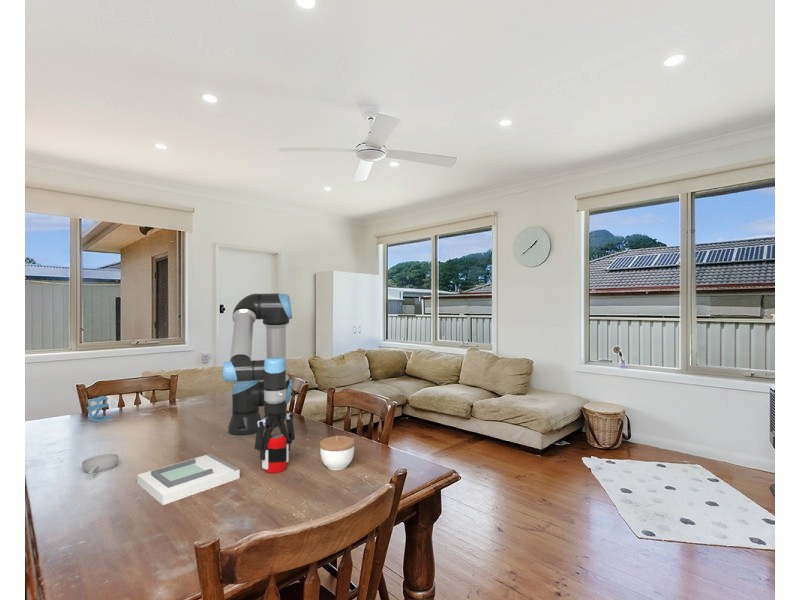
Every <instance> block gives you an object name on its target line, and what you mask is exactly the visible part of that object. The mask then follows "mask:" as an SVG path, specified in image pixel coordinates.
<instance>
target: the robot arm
mask: <svg viewBox="0 0 800 600" xmlns="http://www.w3.org/2000/svg"><path fill="white" fill-rule="evenodd" d="M256 320H262V325H264V326H265V327H266V331H265V333H266V335H265V336H266V338H265V339H266V341H265V342H266V358H265V359H261V360H260V359H257V360H254V359H253V360H252V354H253V353H252V351H253V349H252V347H253V336H254V335H253V333H254V324H255V322H256ZM290 320H293V313H292V304H291V298H290V295H288V294H287V293H280V292H279V293H252V294H249V295H246V296H245V297H243V298H242V299H241V300H240V301H238V303H237V304H236V305H235V306H234V309H233V312H232V322H233V331H232V340H231V350H230V358H229V361H225V362H223V364H222V380H223V381H224V382H226V383H227V382H228V383H233V384H232V387H231V388H232V391H231V395H232V396H231V398H232V400H231V402H232V406H231V409H232V411H231V412H232V414H231V417H230V421H229V423H228V428H227V429H228V434H230V435H235V436H245V435H251V434H255V440H254V441H255V443H254V450H257V451H258V452H259V458H260V460H261V467H262V469H266V470H267V469H268V450H266V448H267V445H268V442H269V439H270V436H271V434H273V433H272V432H274V430H275V428H278V429H279V433H281V434H283V435H284V436H285V437H286V463H289V452H291V444H292V442H293V441H295V440H296V437H295V435H296V434H295V429H294V422H293V420H294V414H293V413H291V412H288V413H287V412H286V411H287V404H289V403H290V401H291V396H292V391H293V390H292V389H293V381H292V379H290V376H289V375H288V374H287V360H286V359H287V357H286V356H287V355H286V353H287V350H286V348H287V345H286V344H287V341H286V340H287V331H286V330H287V328H286V327H287V326H288V325H289V323H290ZM260 407H263V409H264V411H263V412H264V417H263V419H262V417H261V414H260V409H259V408H260ZM285 422H286V424H285Z"/></svg>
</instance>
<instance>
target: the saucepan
mask: <svg viewBox="0 0 800 600" xmlns="http://www.w3.org/2000/svg"><path fill="white" fill-rule="evenodd" d="M119 458H120V456H119V454H117V453H106V454H98V455H95V456H90V457H89V458H87V459H84V460H83V461H82V462H81V467H82V470H83V471H84V472H85V473H86V474H89V473H96V474H100V473H99V472H102V473H104V472H103V471H106V472H108V471H107V470H109V471H110V469H111V470H113V469H115V467H116V466H117V465H118V462H119ZM112 468H113V469H112Z"/></svg>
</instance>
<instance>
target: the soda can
mask: <svg viewBox="0 0 800 600" xmlns="http://www.w3.org/2000/svg"><path fill="white" fill-rule="evenodd" d="M266 450H268V469H267V470H266V469H264V468H263V469H264V471H265V472H266V473H268V474H279V473H282V472H284V471H285V470H286V469H287V462H286V437H285V436H284V435H283V434H281V432H278V433H277V432H275V433H271V436H270V439H269V442H268V445H267V448H266Z"/></svg>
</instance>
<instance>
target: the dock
mask: <svg viewBox="0 0 800 600" xmlns="http://www.w3.org/2000/svg"><path fill="white" fill-rule="evenodd" d="M240 472H241V471H240V468H238V467H236V466H234V465H233V464H231V463H229V462H227V461H225V460H224V459H222V458H219V457H217V456H215V455H214V454H212V453H208V454H205V455H202V456H201V455H200V456H197V457H194V458H191V459H188V460H184V461H179V462H177V463H176V462H175V463H173V464H170V465H166V466H163V467H160V468H156V469H153V470H148V471H146V472H142V473H138V474H137V485H138V484H139V485H138V486H139V487H141V488H142V489H143V490H144V491H145V490H146V491H145V492H147V493H148V494H149V495H150V496H151V497H153V498H154V500H156V501H157V502H158V503H159V504H160V505H162V506H164V505H168V504H171V503H173V502H176V501H178V500H179V501H180V500H182V499H184V498H187V497H190V496H192V495H197V494H199V493H202V492H204V491H207V490H210V489H212V488H216V487H218V486H221V485H224V484H227V483H230V482H234V481H236V480H238V479H240Z"/></svg>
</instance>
